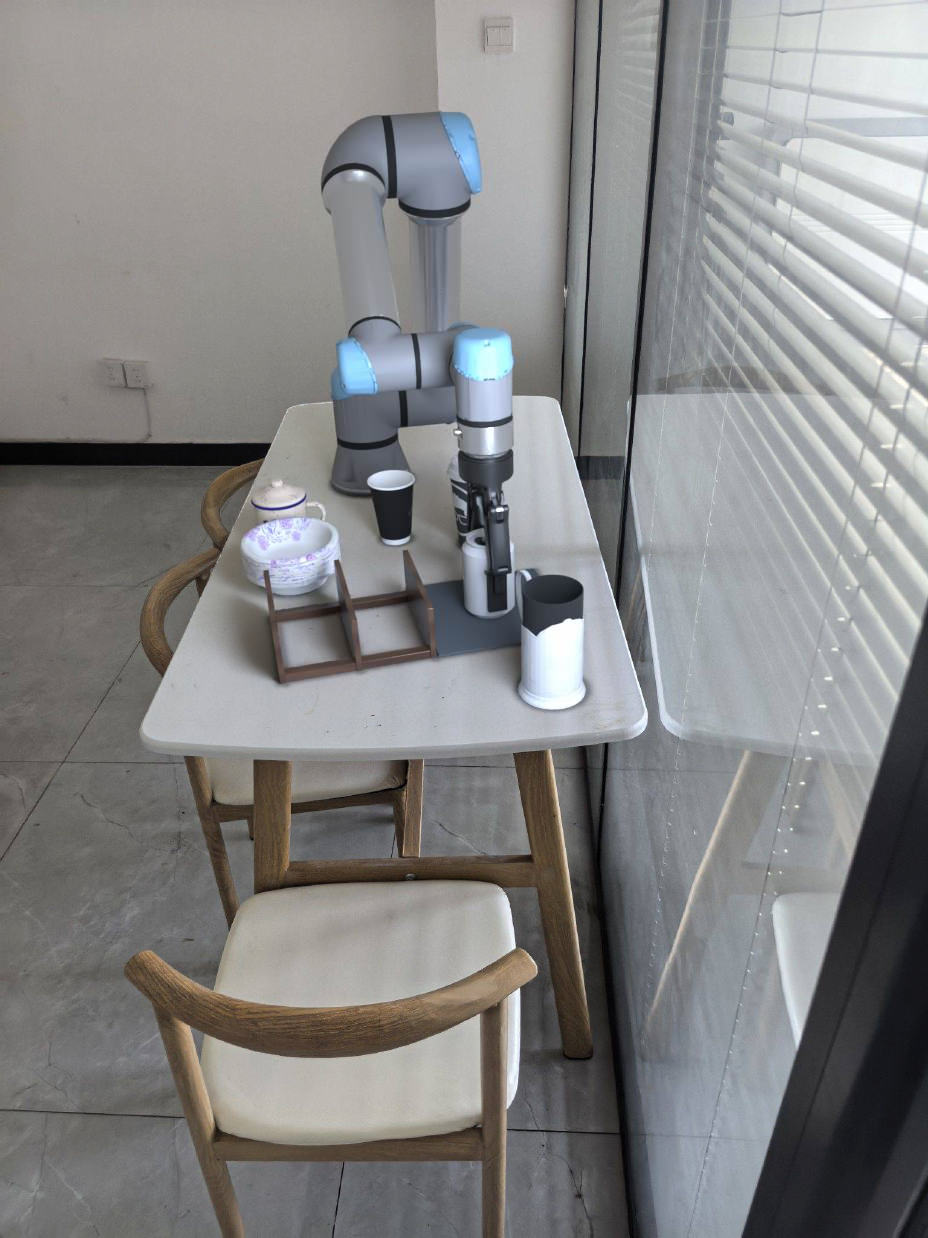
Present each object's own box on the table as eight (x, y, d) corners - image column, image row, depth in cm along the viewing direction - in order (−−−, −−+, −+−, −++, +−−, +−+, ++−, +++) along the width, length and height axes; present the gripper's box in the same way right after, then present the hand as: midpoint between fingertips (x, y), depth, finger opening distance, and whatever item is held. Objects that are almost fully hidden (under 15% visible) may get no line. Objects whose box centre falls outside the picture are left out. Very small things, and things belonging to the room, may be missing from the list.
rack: (270, 617, 144) (262, 570, 140) (411, 595, 148) (407, 549, 144) (280, 684, 129) (272, 633, 125) (436, 657, 133) (433, 607, 129)
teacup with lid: (256, 557, 161) (246, 493, 154) (260, 533, 168) (250, 471, 162) (329, 551, 161) (321, 487, 155) (329, 528, 169) (322, 466, 163)
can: (456, 602, 145) (453, 530, 138) (501, 591, 147) (500, 520, 141) (476, 626, 139) (474, 551, 132) (523, 614, 141) (523, 540, 135)
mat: (410, 589, 150) (410, 587, 149) (534, 570, 153) (534, 568, 153) (438, 657, 133) (438, 655, 133) (576, 634, 137) (576, 632, 136)
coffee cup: (501, 557, 157) (500, 472, 149) (444, 554, 159) (440, 469, 151) (511, 532, 165) (510, 449, 157) (456, 529, 167) (452, 447, 159)
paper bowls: (290, 616, 144) (283, 569, 140) (227, 586, 153) (219, 541, 148) (363, 576, 153) (359, 531, 149) (300, 550, 162) (294, 507, 158)
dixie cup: (364, 537, 166) (358, 477, 160) (403, 524, 169) (399, 465, 164) (387, 553, 160) (382, 492, 154) (428, 540, 164) (424, 480, 158)
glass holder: (537, 716, 120) (537, 613, 113) (489, 660, 132) (486, 563, 124) (598, 698, 123) (602, 596, 116) (546, 644, 135) (547, 548, 127)
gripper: (441, 426, 138) (448, 566, 150) (478, 481, 120) (483, 635, 132) (491, 420, 139) (494, 559, 151) (535, 474, 122) (535, 627, 134)
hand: (489, 595), depth 142 cm, fingers open, 8 cm apart
